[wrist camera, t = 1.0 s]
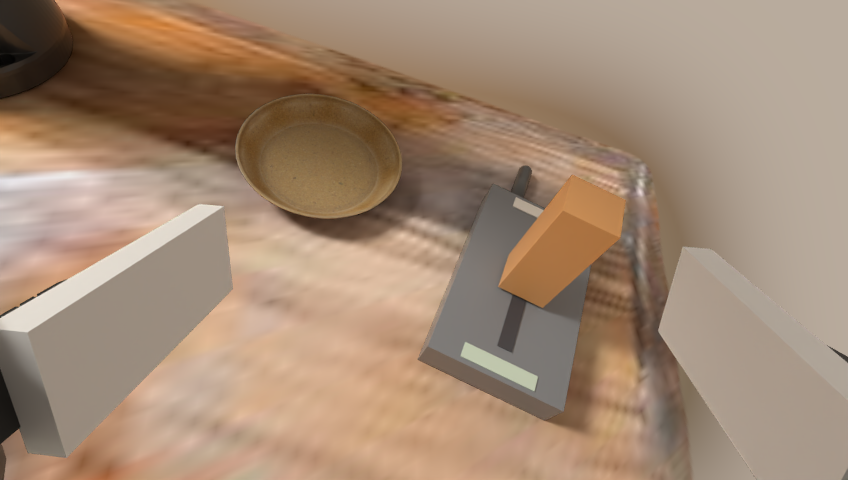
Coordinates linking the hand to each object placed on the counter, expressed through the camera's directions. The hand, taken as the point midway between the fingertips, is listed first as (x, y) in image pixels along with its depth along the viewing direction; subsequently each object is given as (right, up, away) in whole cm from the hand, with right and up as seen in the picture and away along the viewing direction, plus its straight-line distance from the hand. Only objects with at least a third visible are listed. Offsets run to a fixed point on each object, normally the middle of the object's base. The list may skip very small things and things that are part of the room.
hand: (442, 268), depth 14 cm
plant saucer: (-10, +7, +31) cm, 34 cm away
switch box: (+8, -2, +30) cm, 31 cm away
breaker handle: (+8, -3, +26) cm, 27 cm away
